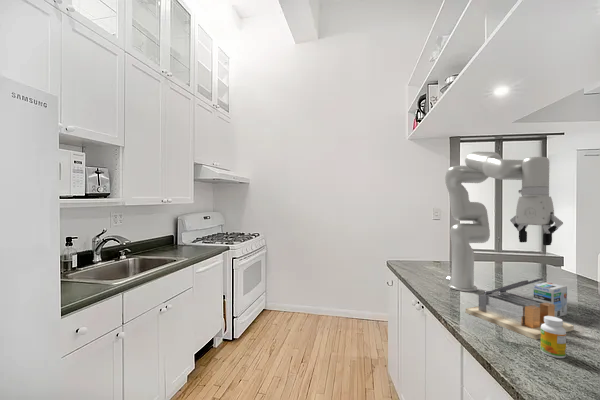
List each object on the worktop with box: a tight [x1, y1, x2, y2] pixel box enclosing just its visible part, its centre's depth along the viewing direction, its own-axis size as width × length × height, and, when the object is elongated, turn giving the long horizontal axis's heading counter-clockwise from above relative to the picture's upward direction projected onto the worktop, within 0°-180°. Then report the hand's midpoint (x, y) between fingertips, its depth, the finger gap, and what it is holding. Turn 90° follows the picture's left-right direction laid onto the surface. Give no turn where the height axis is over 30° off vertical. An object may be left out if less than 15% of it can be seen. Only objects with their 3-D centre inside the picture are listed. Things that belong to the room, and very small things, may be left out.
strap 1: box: [483, 280, 529, 295], centre depth 106 cm, size 16×3×1 cm, turn 23°
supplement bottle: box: [539, 316, 567, 359], centre depth 83 cm, size 5×5×10 cm
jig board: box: [465, 305, 575, 340], centre depth 106 cm, size 24×20×2 cm
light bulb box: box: [533, 281, 568, 318], centre depth 114 cm, size 11×7×11 cm, turn 117°
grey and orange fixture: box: [478, 291, 555, 328], centre depth 106 cm, size 18×14×6 cm
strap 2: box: [498, 278, 544, 293], centre depth 109 cm, size 16×3×1 cm, turn 23°
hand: (534, 243), depth 104 cm, fingers open, 6 cm apart
